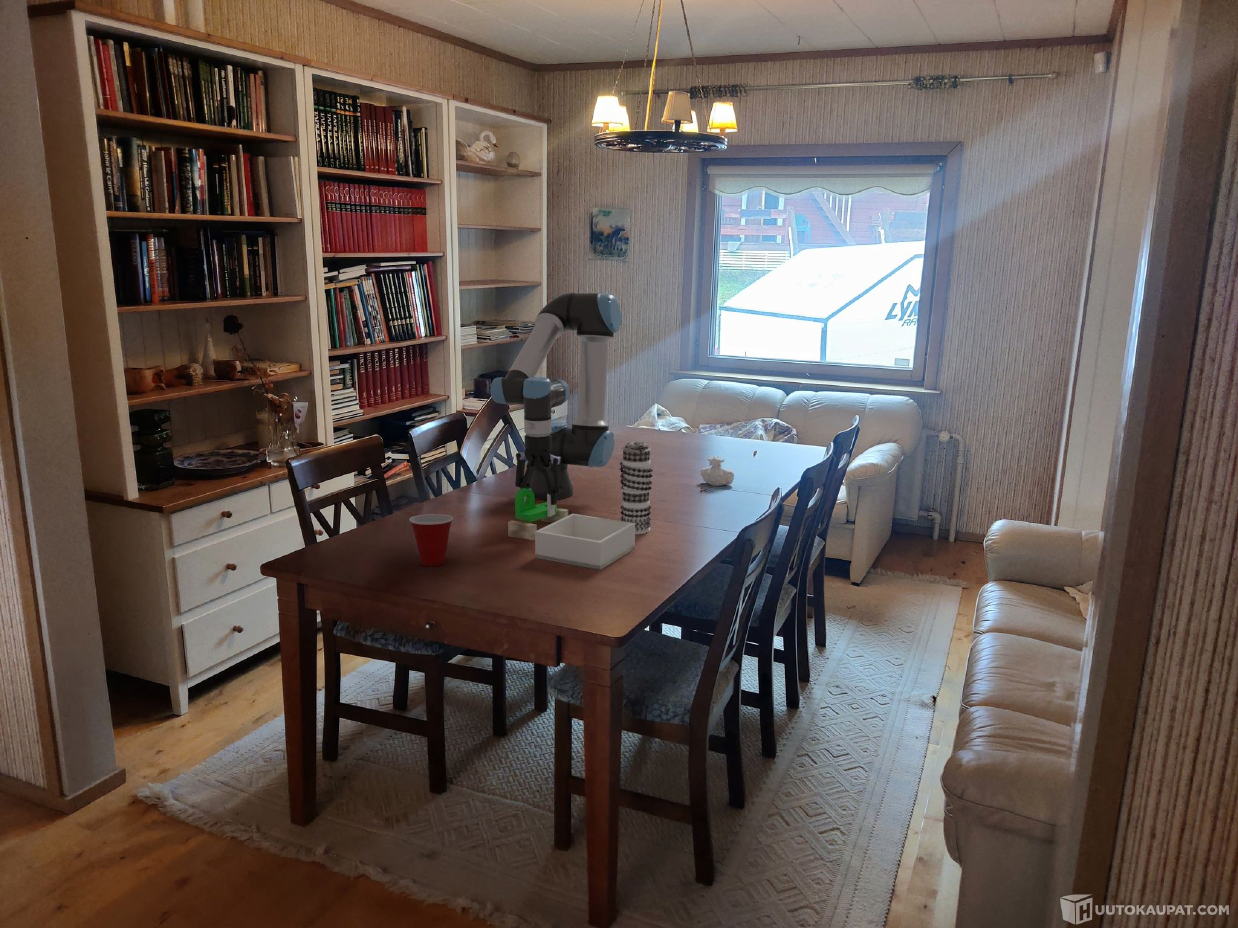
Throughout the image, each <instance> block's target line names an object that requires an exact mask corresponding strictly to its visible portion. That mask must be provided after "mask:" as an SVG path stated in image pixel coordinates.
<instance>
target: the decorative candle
mask: <svg viewBox="0 0 1238 928" xmlns="http://www.w3.org/2000/svg"><path fill="white" fill-rule="evenodd" d="M621 449H622V461H620V462H619V466H620V468H619V470H620V473H621V474H620V476H619V477H620V480H619V482H620V484H621V487H620V490H621V492H622V498H621V499H622V500H621V506H620V509H621V511H620V514H621V516H620V520H619V521H623V522H630V523H635V535H643V534H647V533H649V532H650V531H651V528H650V527H651V526H652V525H651V521H652V519H651V516H650V515H651V513H652V512H651V511H650V510H651V509H652V507H651V499H650V492H651V491H652V486H651V485H652V483H653V482H652V480H650V478H652V477H653V473H652V472H653V468H651V467H650V465H651V450H652V448H651V447H649V445H648V444H647V443H646V442H643V441H629V442H627V443H626V444H625V445H624V447H622V448H621ZM646 532H647V533H646Z"/></svg>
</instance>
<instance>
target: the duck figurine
mask: <svg viewBox="0 0 1238 928" xmlns="http://www.w3.org/2000/svg"><path fill="white" fill-rule="evenodd" d="M725 460H726V459H725V458H720V457H719V456H715V455H714V456H713V457H708V458H707V461H708V462H709V464H708V465H709V467H703V468H701V469H700V470H699V471H700V476H701V477H702V480H703V481H704V482H705V483H706V484H708V485H709V486H713V487H721V486H727V485H729V486H730V485H732V484H733V481H734V479H735V473H734V472H733V471H732V470H729V469H726V468H724V469H723V468H722V463H724V462H725Z"/></svg>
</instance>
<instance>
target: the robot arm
mask: <svg viewBox="0 0 1238 928" xmlns="http://www.w3.org/2000/svg"><path fill="white" fill-rule="evenodd" d="M621 326H622V313H621V306H620V304H619V302H618V299H617V298H616V297H615V296H614V295H612V294H608V293H589V292H588V293H587V292H585V293H584V292H581V293H578V292H577V293H575V292H568V293H563V294H561V295H558V296H557V297H555V298H553V299H552V300H551V301H549V302H548V303H546V305H544V306H543V307H542V308H541V310H540V311H539V313H538V314H537V316H536V317H535V319H534V327H533V329H532V331H531V333H530V334H529V337H527V339H526V341H525V343H524V345H523V346H522V348H521V350H520V351H519V353H518V355H517V357H516V358H515V360H514V362H513V363H512V365H511V366H510V369H509V370H508V372H507V373H506V375H505V377H503V376H500V377H496V378H493V380H492V382H491V384H490V396H491V399H492V401H494V402H495V403H497V404H504V405H514V406H515V405H516V406H523V410H524V411H523V413H524V414H523V421H524V422H523V423H524V433H525V435H524V448H525V449H524V451H519V452H516V454H515V458H516V459H515V460H516V471H515V483H514V484H515V485H514V486H515V487H516V488H520V489H521V488H526V489H530V490H532V491H533V493H534V499H537V500H547V501H546V502H547V513H548V517H551V516H553V515H555V505H557V503H558V500H560V499H566V498H567V499H568V498H570V497H571V496H573V495H574V487H573V483H572V480H571V477H570V474H569V471H568V465H569V466H578V467H579V466H581V467H589V468H593V467H594V468H602V467H604V466H606V465H607V464H608V463H609V462H610V460H611V458H612V455H613V452H614V448H615V442H616V441H615V435H614V432H612V431H611V430H609V429H610V428H609V426H610V425H609V424H608V422H607V421H606V420H605V413H606V411H605V410H606V394H607V393H606V392H607V376H608V356H609V355H608V354H609V344H610V342H611V341H612V340H613V339H614V335H615V333H617V332H619V330H620V329H621ZM566 331H576V338H577V339H578V340H579V341H580V357H579V359H580V360H579V372H578V373H579V377H578V393H577V394H578V398H577V416H576V418H575V420H574V421H572V422H571V427H570V428H569V425H568V423H567V422H563V421H559V422H552V409H554V408H556V407H560V406H562V405H563V404H564V403H566V402H567V401H568V400H569V398H570V394H571V389H570V386H569V384H568V383H567V382H566V381H565V380H563V379H561V378H552V379H549V378H548V377H542V376H541V377H540V376H538V377H536V376H537V374H538V372H539V370H540V369H541V367H542V365H543V363H544V361H545V359H546V358H547V356H548V354H549V352H550V350H551V349H552V347H553V345H554V344H555V342H556V340H557V339H558V338H560V337H561V336H563V334H564V332H566ZM526 460H527V463H526ZM525 500H526V496H525V497H524V500H523V502H525Z"/></svg>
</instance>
